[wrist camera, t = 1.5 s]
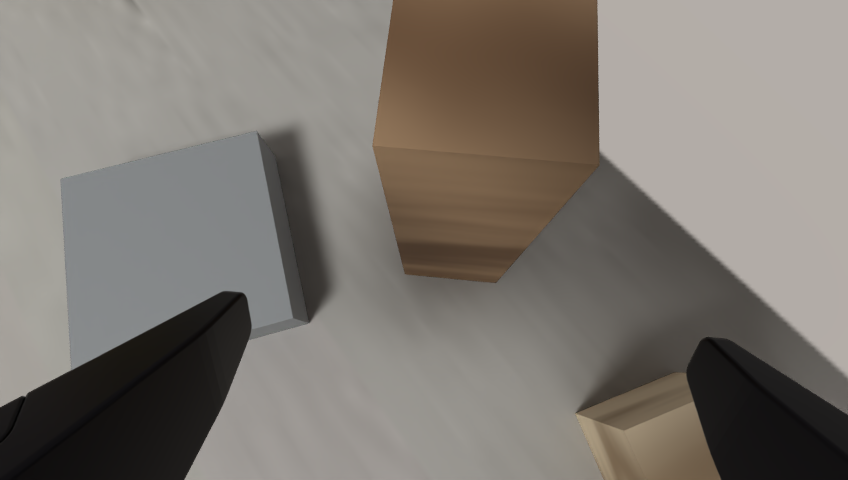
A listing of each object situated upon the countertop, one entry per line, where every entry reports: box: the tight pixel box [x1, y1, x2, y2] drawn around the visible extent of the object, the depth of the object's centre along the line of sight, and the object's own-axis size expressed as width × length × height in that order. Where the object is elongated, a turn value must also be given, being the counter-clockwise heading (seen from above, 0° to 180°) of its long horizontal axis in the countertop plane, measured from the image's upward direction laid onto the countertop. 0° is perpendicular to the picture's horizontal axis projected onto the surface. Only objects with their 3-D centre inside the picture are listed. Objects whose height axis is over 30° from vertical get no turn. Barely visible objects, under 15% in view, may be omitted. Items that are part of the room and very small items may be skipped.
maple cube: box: [575, 372, 721, 480], centre depth 16 cm, size 5×5×5 cm
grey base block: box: [61, 131, 309, 370], centre depth 20 cm, size 9×9×3 cm
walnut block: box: [373, 0, 599, 283], centre depth 15 cm, size 4×4×13 cm
